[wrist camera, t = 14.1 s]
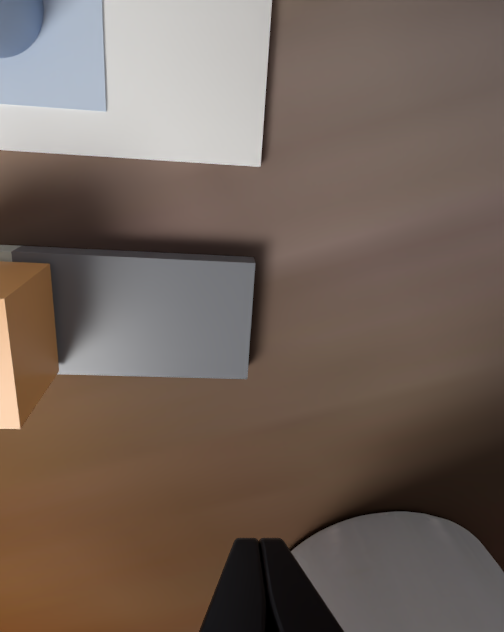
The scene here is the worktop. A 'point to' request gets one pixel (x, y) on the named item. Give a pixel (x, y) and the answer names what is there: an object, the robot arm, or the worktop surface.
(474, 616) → the utensil holder
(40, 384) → the orange cube
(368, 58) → the worktop surface
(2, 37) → the marker
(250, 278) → the switch base
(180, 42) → the sheet
